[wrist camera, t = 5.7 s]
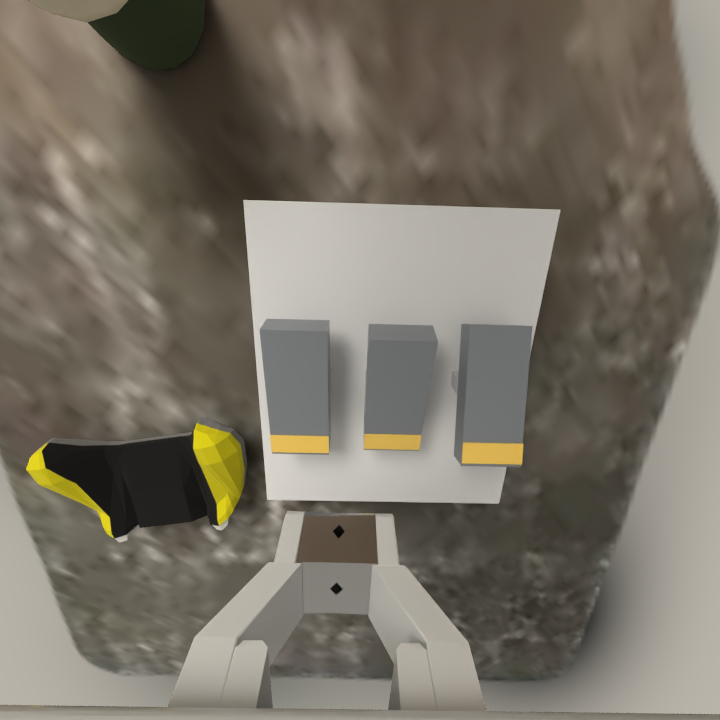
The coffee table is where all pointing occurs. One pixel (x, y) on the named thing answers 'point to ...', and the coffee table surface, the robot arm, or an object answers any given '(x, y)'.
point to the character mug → (140, 26)
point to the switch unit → (391, 306)
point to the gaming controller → (148, 476)
